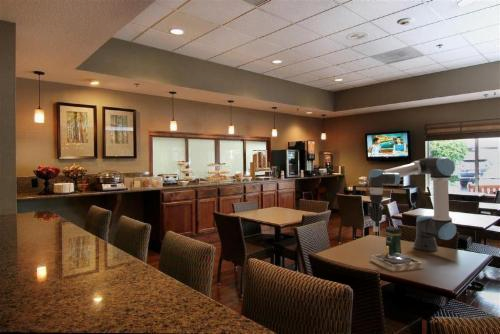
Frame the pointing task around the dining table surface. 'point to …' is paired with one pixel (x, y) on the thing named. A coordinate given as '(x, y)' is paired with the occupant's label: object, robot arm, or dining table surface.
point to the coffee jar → (393, 239)
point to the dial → (395, 257)
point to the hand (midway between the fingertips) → (375, 231)
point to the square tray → (396, 267)
